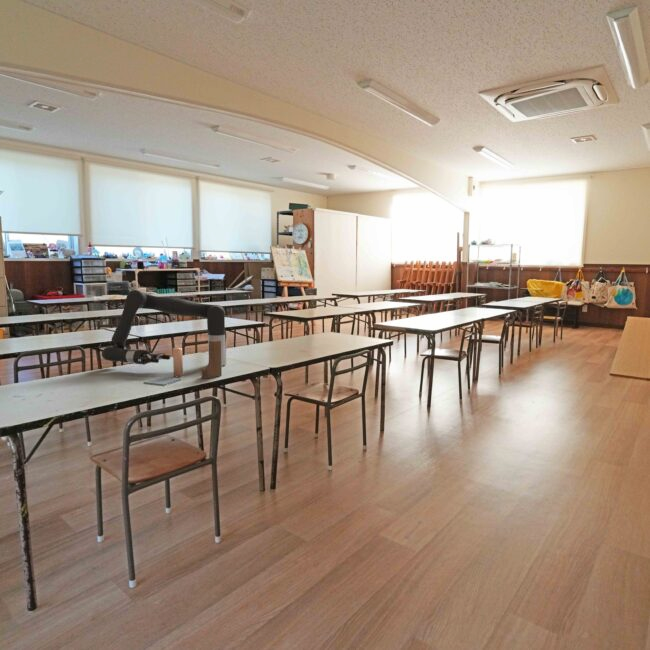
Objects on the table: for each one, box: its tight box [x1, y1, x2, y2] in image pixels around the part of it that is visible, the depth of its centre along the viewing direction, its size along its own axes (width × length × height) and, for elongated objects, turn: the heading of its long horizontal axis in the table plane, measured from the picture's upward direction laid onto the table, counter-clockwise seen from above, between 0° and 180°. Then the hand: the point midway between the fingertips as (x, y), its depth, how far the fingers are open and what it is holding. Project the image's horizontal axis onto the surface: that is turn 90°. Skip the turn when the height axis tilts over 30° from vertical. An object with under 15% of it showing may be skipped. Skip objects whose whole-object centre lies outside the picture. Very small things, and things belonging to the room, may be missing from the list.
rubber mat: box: [143, 376, 182, 386], centre depth 221 cm, size 12×12×1 cm
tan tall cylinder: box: [172, 347, 184, 378], centre depth 231 cm, size 4×4×14 cm
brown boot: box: [201, 340, 223, 380], centre depth 230 cm, size 9×4×18 cm, turn 140°
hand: (163, 359), depth 234 cm, fingers open, 8 cm apart
